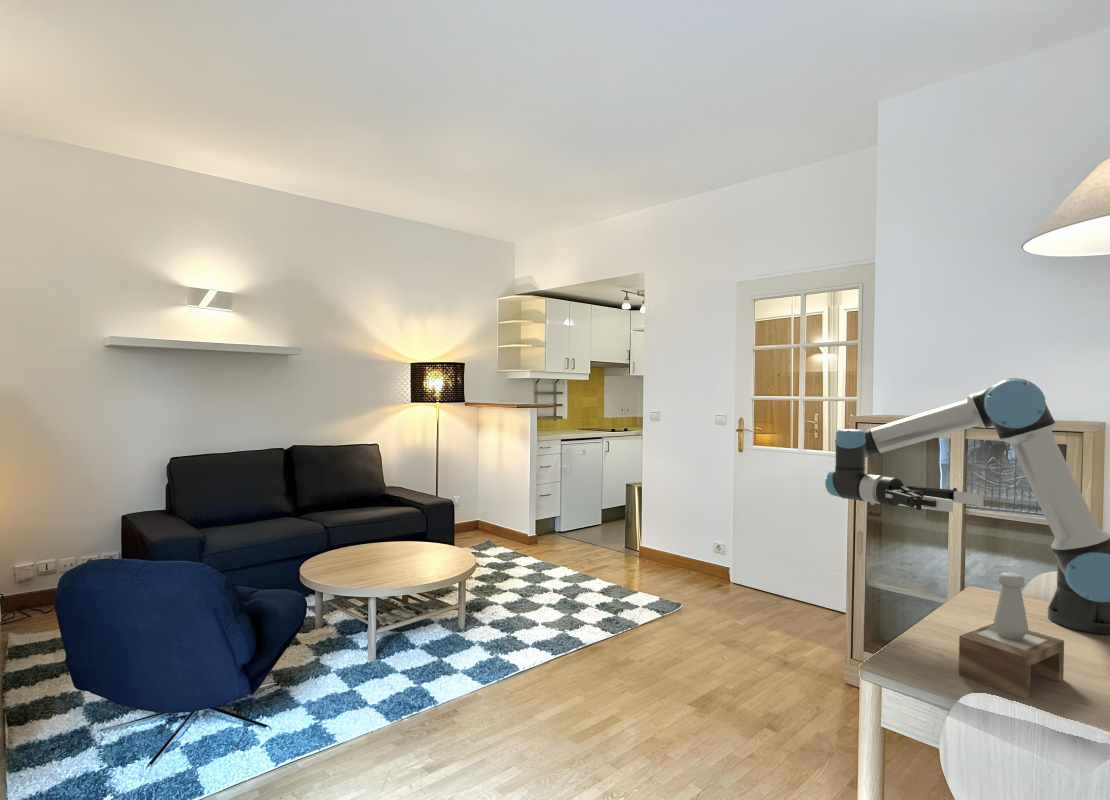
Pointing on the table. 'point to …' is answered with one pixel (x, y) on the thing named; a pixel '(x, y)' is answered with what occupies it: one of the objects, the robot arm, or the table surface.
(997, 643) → the walnut shelf
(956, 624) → the table surface
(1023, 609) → the salt shaker
